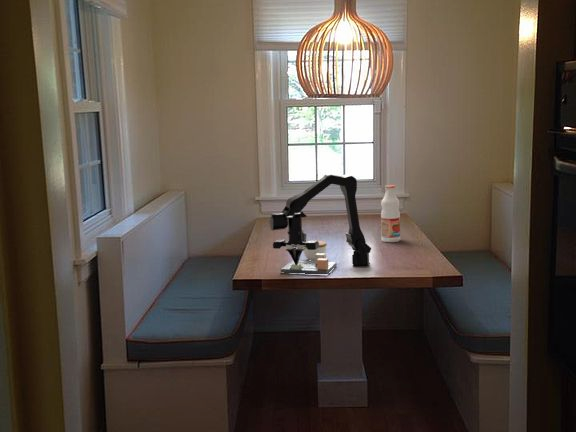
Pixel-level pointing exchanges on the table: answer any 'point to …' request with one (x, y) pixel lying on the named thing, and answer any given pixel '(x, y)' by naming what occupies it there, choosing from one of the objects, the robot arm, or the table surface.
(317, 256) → the slider
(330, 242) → the table surface
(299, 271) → the panel
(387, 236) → the fruit juice
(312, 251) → the lidded jar
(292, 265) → the button
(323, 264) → the slider
